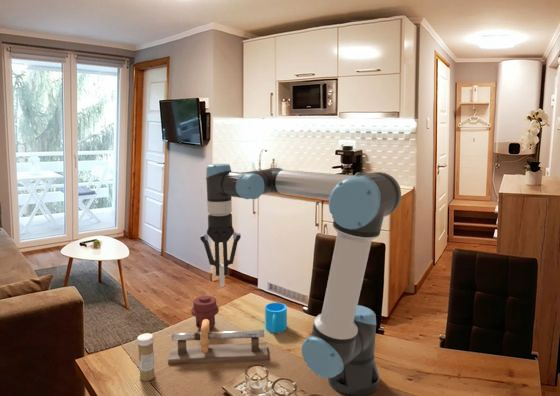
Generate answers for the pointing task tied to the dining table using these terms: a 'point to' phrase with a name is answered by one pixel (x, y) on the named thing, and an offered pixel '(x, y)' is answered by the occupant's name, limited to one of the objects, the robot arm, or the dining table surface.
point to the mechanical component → (205, 311)
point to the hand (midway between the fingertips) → (222, 284)
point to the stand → (218, 352)
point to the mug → (275, 317)
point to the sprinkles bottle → (146, 356)
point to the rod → (219, 335)
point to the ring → (204, 336)
